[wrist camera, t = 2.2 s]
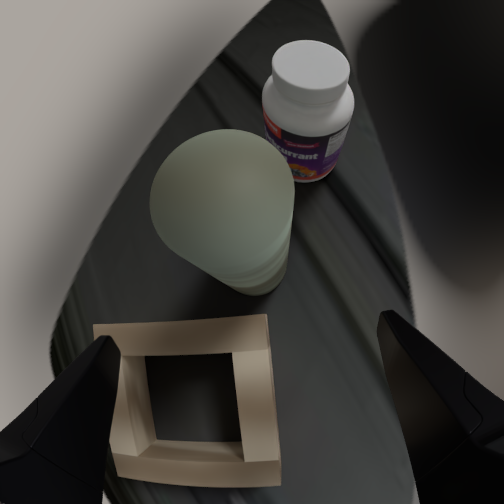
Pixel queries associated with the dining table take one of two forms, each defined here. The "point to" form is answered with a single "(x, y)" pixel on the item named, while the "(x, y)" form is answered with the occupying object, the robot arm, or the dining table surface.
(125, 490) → the dining table surface
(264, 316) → the holder
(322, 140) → the pill bottle
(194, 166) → the peg
